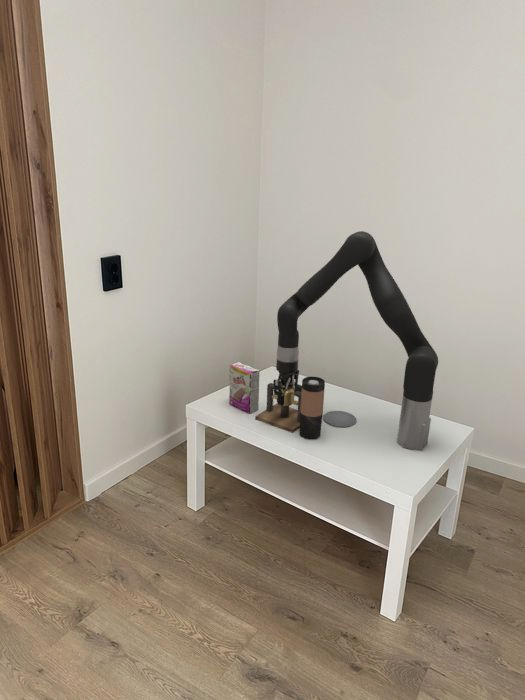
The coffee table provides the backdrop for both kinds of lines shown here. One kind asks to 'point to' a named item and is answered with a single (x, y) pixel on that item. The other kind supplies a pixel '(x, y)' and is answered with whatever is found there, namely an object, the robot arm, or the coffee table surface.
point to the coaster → (339, 419)
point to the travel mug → (311, 407)
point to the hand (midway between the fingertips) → (285, 401)
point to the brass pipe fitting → (287, 397)
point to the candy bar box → (244, 387)
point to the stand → (280, 413)
